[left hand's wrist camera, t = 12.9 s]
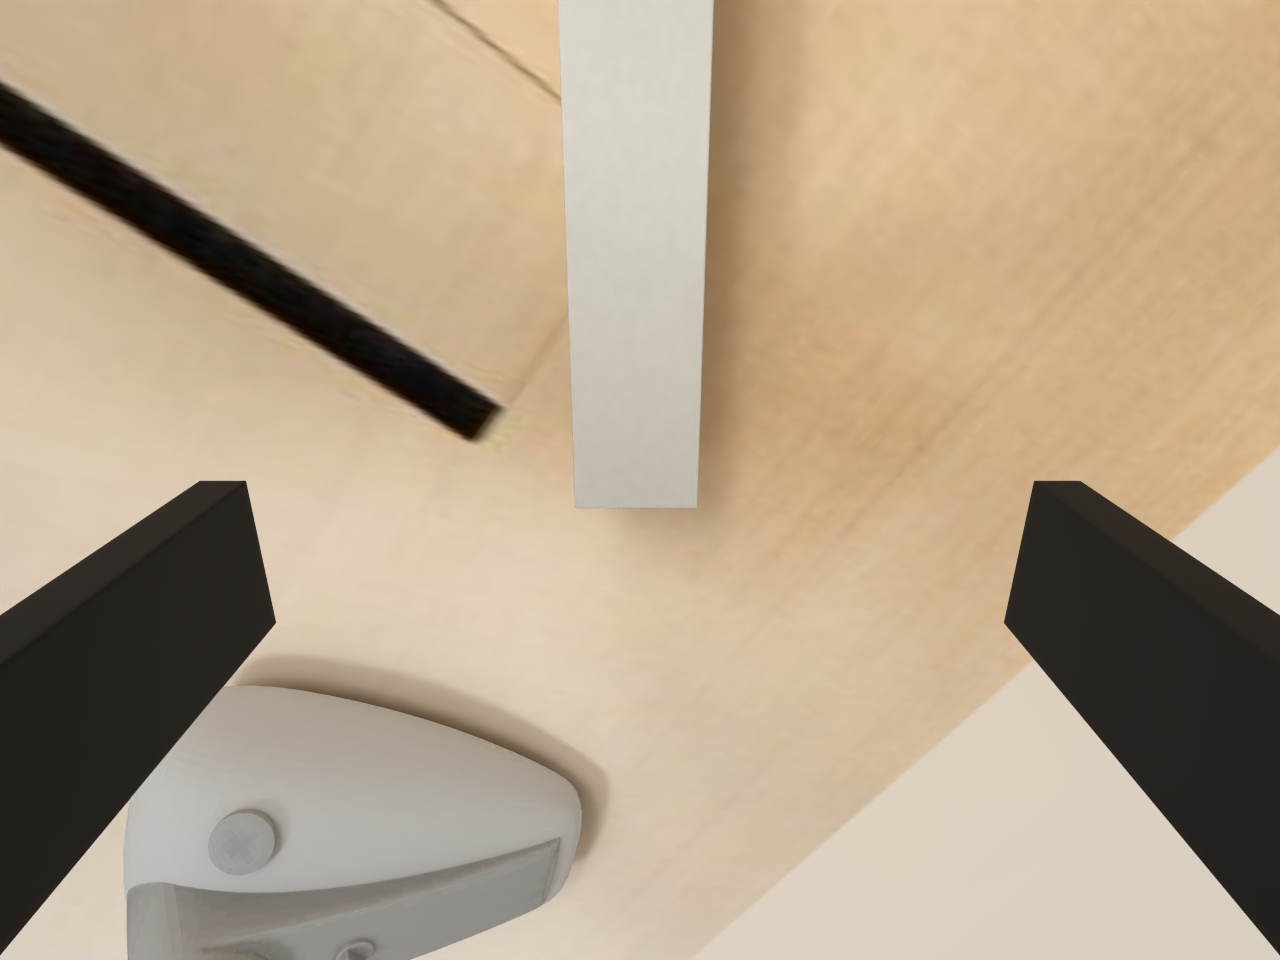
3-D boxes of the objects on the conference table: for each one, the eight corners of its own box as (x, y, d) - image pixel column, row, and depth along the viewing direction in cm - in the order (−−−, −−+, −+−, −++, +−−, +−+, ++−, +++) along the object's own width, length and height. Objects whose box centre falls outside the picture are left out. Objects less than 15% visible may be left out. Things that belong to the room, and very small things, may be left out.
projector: (363, 963, 51) (262, 1248, 37) (95, 748, 44) (-149, 1001, 30) (624, 822, 46) (618, 1089, 32) (370, 554, 39) (227, 752, 26)
